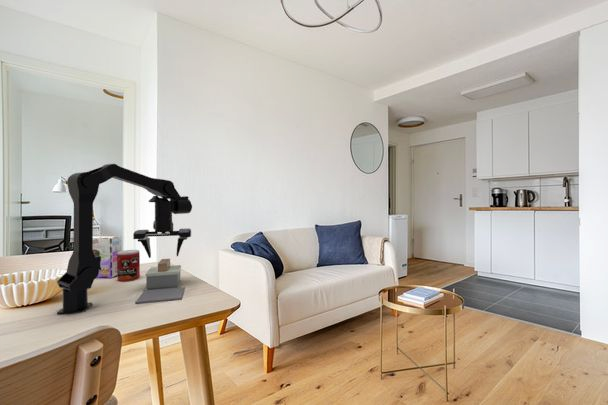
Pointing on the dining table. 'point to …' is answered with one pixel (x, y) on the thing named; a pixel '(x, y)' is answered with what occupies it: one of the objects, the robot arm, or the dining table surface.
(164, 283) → the storage box
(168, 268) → the lid
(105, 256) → the candy box
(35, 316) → the dining table surface
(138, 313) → the dining table surface
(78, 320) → the dining table surface
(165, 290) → the mat
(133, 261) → the canned food
